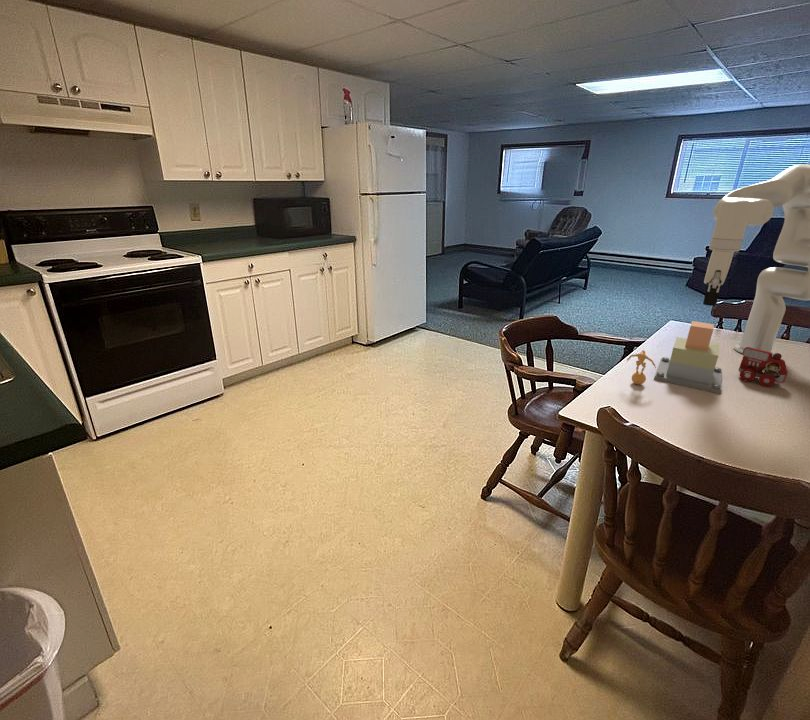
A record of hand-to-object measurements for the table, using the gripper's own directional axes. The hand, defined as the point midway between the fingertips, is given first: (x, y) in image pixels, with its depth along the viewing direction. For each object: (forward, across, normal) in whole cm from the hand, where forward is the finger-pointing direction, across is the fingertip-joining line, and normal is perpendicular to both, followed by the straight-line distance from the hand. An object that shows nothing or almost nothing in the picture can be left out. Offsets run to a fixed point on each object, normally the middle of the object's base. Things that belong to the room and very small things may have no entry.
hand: (709, 301), depth 135 cm
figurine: (+25, +18, -13) cm, 34 cm away
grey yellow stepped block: (+25, +1, 0) cm, 25 cm away
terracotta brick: (+15, 0, 0) cm, 15 cm away
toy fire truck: (+26, -8, +19) cm, 33 cm away
